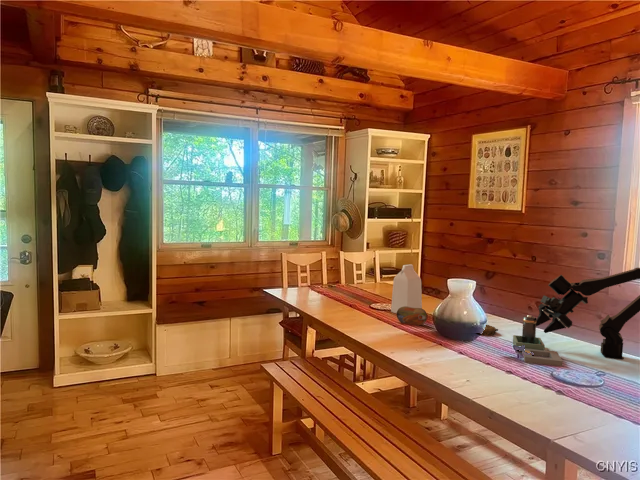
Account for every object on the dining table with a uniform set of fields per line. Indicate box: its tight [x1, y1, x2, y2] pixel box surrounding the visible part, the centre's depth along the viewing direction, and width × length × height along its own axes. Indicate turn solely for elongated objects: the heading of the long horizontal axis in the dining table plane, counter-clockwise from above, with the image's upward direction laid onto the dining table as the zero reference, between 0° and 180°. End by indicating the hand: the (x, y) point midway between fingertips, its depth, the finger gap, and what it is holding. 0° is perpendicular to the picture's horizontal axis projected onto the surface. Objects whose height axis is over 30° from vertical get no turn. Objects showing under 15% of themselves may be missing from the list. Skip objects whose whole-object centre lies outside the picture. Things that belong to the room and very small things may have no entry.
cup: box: [512, 334, 545, 350], centre depth 187 cm, size 11×11×4 cm
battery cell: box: [521, 314, 537, 344], centre depth 186 cm, size 5×5×13 cm
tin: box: [396, 306, 428, 326], centre depth 221 cm, size 15×3×8 cm, turn 62°
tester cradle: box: [523, 348, 564, 367], centre depth 174 cm, size 13×11×2 cm
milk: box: [390, 264, 423, 314], centre depth 242 cm, size 12×12×26 cm
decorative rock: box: [482, 324, 499, 337], centre depth 211 cm, size 11×4×15 cm
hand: (539, 328), depth 186 cm, fingers open, 9 cm apart
